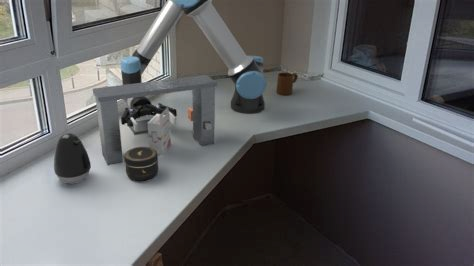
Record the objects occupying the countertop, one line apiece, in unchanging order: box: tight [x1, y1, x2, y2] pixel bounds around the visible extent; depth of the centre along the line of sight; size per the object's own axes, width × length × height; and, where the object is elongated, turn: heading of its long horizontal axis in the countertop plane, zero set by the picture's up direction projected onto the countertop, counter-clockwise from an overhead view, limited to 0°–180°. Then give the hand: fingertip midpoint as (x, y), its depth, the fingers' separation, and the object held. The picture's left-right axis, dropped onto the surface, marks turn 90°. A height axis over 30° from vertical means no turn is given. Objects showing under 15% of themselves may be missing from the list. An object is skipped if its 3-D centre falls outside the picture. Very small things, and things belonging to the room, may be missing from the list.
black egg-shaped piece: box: [53, 132, 92, 185], centre depth 122 cm, size 10×10×15 cm
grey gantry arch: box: [92, 74, 218, 166], centre depth 140 cm, size 9×39×24 cm, turn 118°
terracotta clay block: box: [187, 106, 212, 130], centre depth 149 cm, size 16×4×4 cm, turn 28°
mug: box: [276, 72, 298, 96], centre depth 202 cm, size 12×8×9 cm, turn 129°
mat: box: [128, 118, 152, 136], centre depth 161 cm, size 10×10×1 cm
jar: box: [123, 146, 159, 183], centre depth 127 cm, size 10×10×8 cm
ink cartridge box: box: [147, 106, 172, 156], centre depth 142 cm, size 9×5×15 cm, turn 168°
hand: (156, 124), depth 142 cm, fingers open, 13 cm apart
